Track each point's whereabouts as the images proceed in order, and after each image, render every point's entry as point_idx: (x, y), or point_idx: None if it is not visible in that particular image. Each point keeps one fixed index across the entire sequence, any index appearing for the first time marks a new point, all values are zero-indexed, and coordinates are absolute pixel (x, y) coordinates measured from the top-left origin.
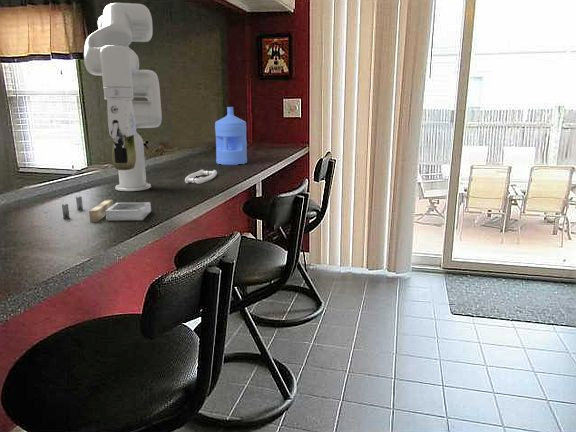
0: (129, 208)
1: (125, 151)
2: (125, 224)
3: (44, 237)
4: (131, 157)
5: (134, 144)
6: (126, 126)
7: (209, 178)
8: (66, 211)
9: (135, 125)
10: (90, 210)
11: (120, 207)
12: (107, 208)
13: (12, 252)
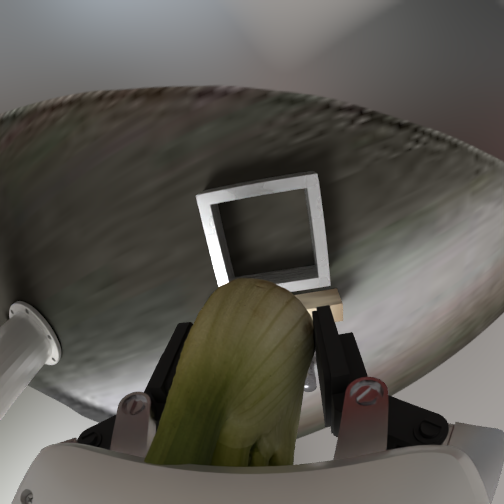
0: (226, 253)
1: (344, 359)
2: (360, 202)
3: (442, 320)
4: (265, 314)
5: (179, 376)
6: None
7: None
8: (313, 372)
9: (21, 499)
10: (336, 320)
11: (231, 280)
12: None
13: (496, 312)
